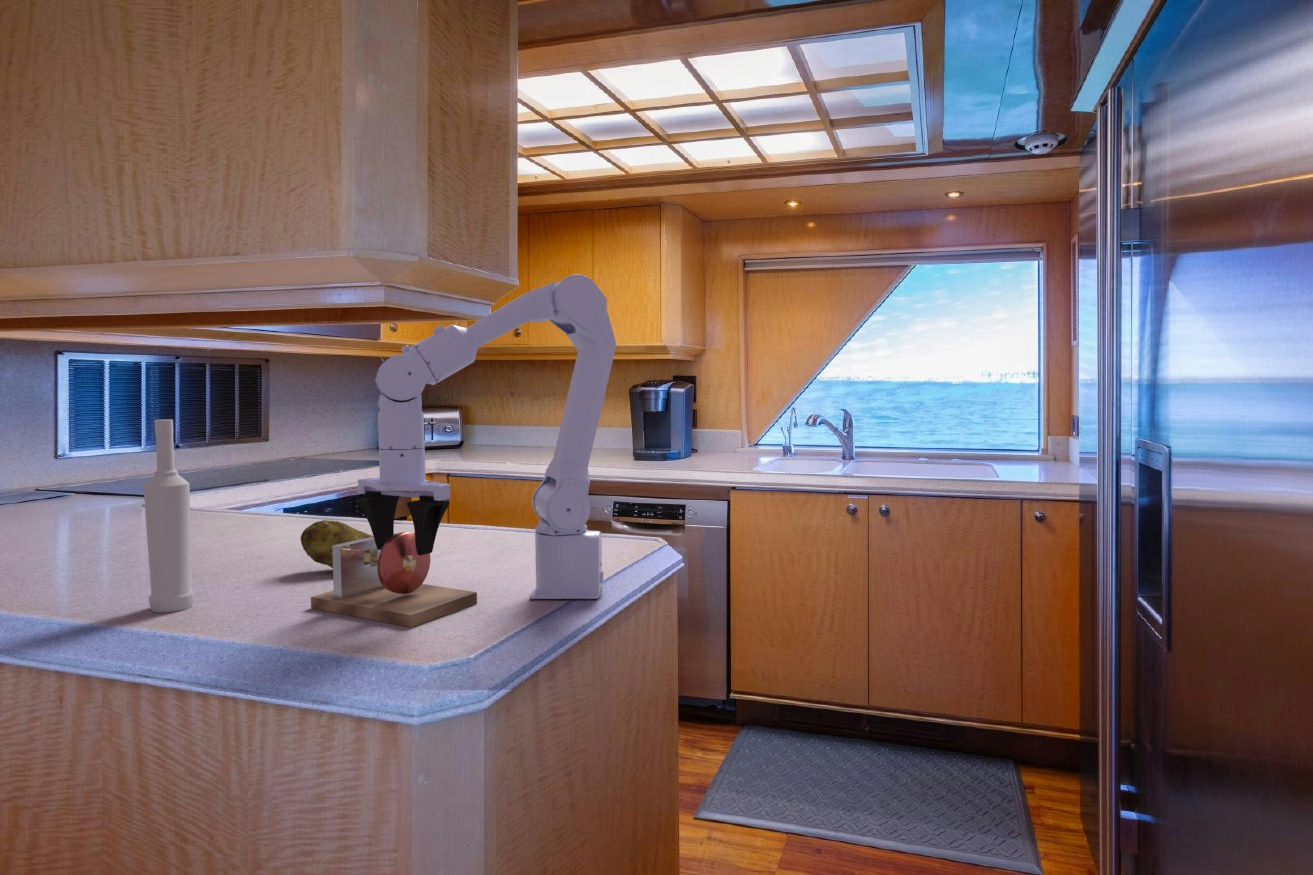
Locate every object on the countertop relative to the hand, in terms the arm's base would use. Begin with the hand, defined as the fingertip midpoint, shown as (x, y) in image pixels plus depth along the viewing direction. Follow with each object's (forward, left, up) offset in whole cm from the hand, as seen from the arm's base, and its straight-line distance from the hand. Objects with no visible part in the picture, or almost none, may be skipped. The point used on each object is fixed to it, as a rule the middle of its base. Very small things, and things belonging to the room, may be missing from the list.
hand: (404, 550), depth 106 cm
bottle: (+31, 0, -8) cm, 32 cm away
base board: (+2, -1, -8) cm, 8 cm away
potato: (+16, -21, -8) cm, 28 cm away
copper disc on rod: (+4, -2, -6) cm, 7 cm away
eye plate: (+6, -3, -6) cm, 9 cm away
